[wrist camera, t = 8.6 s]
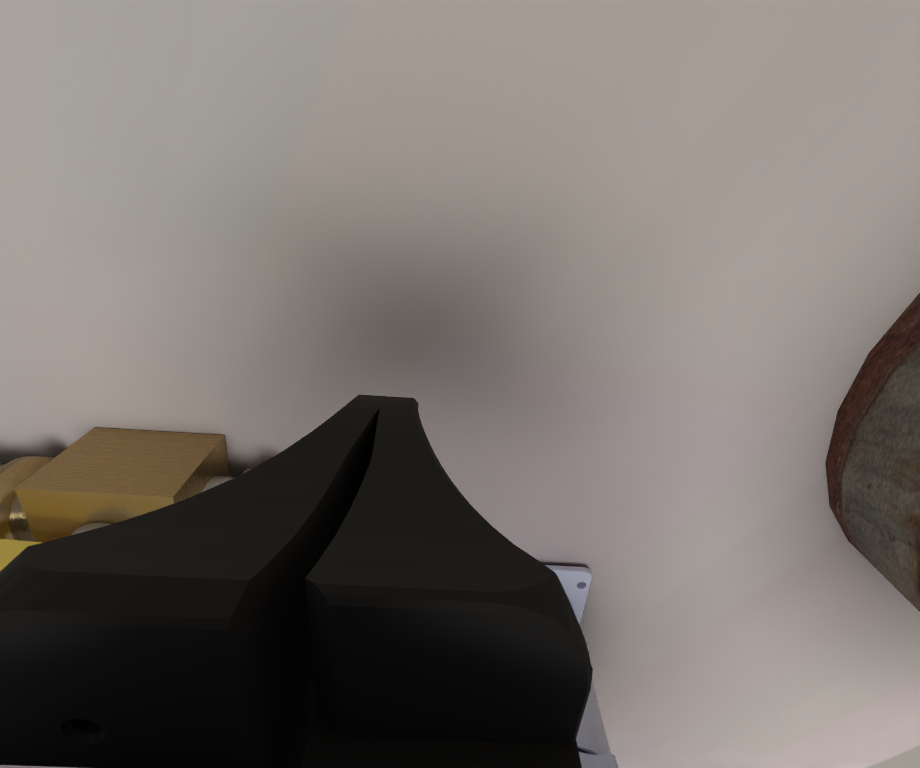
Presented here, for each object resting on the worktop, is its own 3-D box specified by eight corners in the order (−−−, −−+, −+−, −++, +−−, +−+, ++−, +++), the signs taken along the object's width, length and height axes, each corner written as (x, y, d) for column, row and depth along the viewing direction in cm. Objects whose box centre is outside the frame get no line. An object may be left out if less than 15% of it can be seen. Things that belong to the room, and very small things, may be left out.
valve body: (392, 444, 23) (378, 508, 19) (391, 539, 26) (378, 613, 22) (-82, 417, 23) (-204, 477, 18) (-35, 518, 25) (-132, 590, 21)
